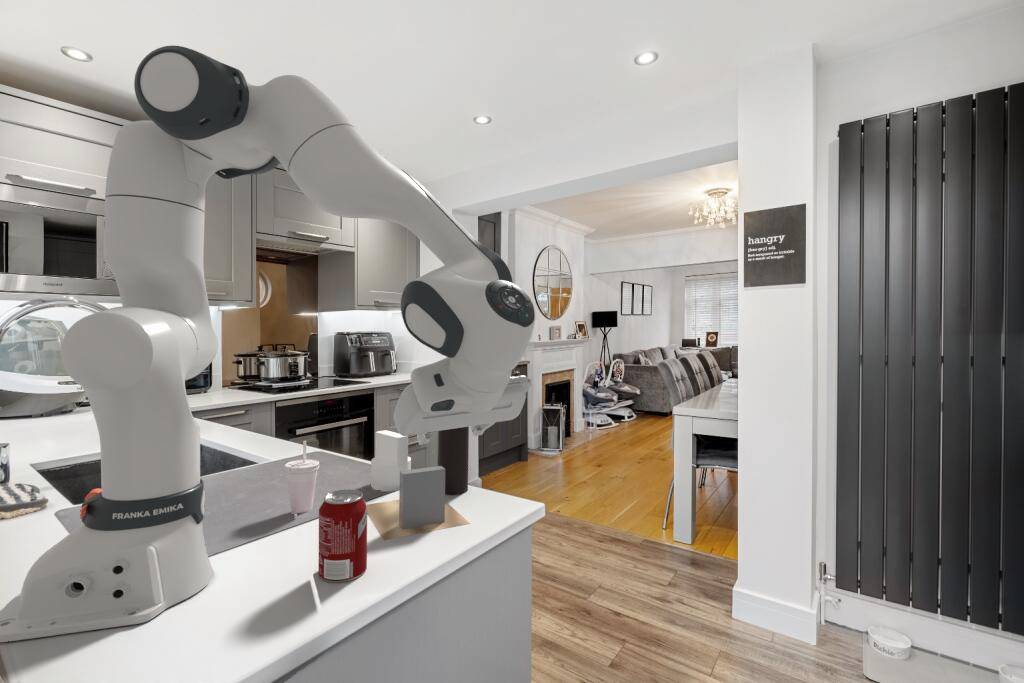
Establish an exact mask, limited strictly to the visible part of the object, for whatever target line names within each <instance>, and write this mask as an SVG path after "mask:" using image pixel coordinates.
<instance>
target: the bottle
mask: <svg viewBox="0 0 1024 683" xmlns="http://www.w3.org/2000/svg"><path fill="white" fill-rule="evenodd" d="M469 431H470V426H468V427H461V428H454V429H448V430H441V431H437V433H438V434H437V466H442V467H443V468H445V496H457V495H458V496H459V495H463V494H465V493H467V492H468V491H469V449H470V448H469V441H470V436H469V435H470V434H469V433H470V432H469Z"/></svg>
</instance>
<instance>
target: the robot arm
mask: <svg viewBox="0 0 1024 683" xmlns="http://www.w3.org/2000/svg"><path fill="white" fill-rule="evenodd" d="M133 84H134V93H135V97H136V99H137V102H138V104H139V105H140V106H139V107H141V109H142V111H144V113H145V114H146V116H147V117H148V118H149V119H150V120H136V121H131V122H127V123H126V124H123V126H121V127H120V129H119V130H118V131H117V133H116V135H115V138H114V140H113V144H112V147H111V148H112V149H111V152H110V156H109V161H108V166H107V174H106V180H105V193H104V194H105V196H104V197H105V198H104V220H103V221H104V224H103V226H104V227H103V250H102V251H103V253H102V254H103V258H104V261H105V263H106V266H107V267H108V269H109V270H110V271H111V273H112V275H113V277H114V279H115V283H116V285H117V289H118V293H119V297H120V301H121V305H122V306H116V307H111V308H107V309H104V310H101V311H97V312H95V313H91V314H89V315H86V316H83V317H82V318H80V319H79V320H77V321H76V322H74V323H73V324H72V325H71V326H70V328H69V329H68V330H67V331H66V332H65V333H64V336H63V338H62V341H61V346H60V360H61V363H62V365H63V368H64V370H65V371H66V373H67V375H68V376H70V378H71V379H72V380H73V381H74V382H76V383H77V384H78V385H79V386H80V387H81V388H82V390H83V391H84V393H85V395H86V397H87V399H88V403H89V405H90V408H91V411H92V413H93V417H94V420H95V423H96V426H97V431H98V432H97V433H98V437H99V443H100V444H99V445H100V471H101V472H100V476H101V477H100V478H101V479H100V480H101V481H100V482H101V484H100V485H101V486H100V487H101V488H100V487H99V488H94V489H92V490H90V491H89V493H88V494H87V495H86V496H85V497H84V502H83V503H82V504H81V509H79V511H80V514H79V518H80V520H81V523H82V524H81V525H80V526H78V527H77V528H76V529H74V530H73V531H72V532H70V533H69V534H68V535H66V536H65V537H64V538H62V539H61V540H60V541H58V542H57V543H56V544H54V545H53V546H52V547H50V548H49V549H47V550H46V551H45V552H44V553H43V554H41V555H40V556H39V558H38V559H36V561H34V563H33V564H32V566H31V567H30V568H29V570H28V572H27V574H26V576H25V579H24V581H23V584H22V587H21V592H20V593H19V594H17V595H15V597H14V598H12V599H11V600H10V601H9V602H8V603H7V604H6V605H5V606H4V607H3V608H2V609H1V611H0V643H8V641H9V642H14V641H21V640H30V639H36V638H37V639H38V638H42V637H43V638H45V637H52V636H58V635H67V634H73V633H80V632H81V633H82V632H87V631H94V630H95V631H96V630H102V629H109V628H117V627H123V626H131V625H138V624H142V623H146V622H148V621H150V620H152V619H153V618H155V617H156V616H158V615H159V614H162V613H163V612H164V611H165V610H166V609H168V608H170V607H172V606H174V605H176V604H178V603H180V602H183V601H184V600H186V599H189V598H190V597H192V596H194V595H195V594H197V593H198V592H200V591H201V590H203V589H205V587H207V585H208V584H209V583H210V582H211V581H212V579H213V577H214V574H215V573H214V570H213V566H212V564H211V561H210V559H209V554H208V551H207V547H206V545H207V544H206V542H205V541H206V540H205V537H204V536H205V535H204V528H203V520H204V517H205V514H206V513H205V509H206V498H205V497H206V495H205V494H206V493H205V488H204V480H203V479H202V478H201V429H200V428H201V427H200V425H199V423H198V422H197V421H196V420H195V418H194V416H193V413H192V410H191V406H190V402H189V399H188V393H187V390H186V381H188V380H190V379H193V378H195V377H197V376H198V375H199V374H201V373H202V372H203V371H204V370H206V369H207V368H208V367H209V365H210V364H211V363H212V362H213V361H214V360H215V358H216V355H217V353H218V349H219V344H218V343H219V342H218V341H219V340H218V336H217V334H216V331H215V330H214V328H213V324H212V318H211V310H210V302H209V297H208V293H207V292H208V291H207V286H206V279H205V268H204V255H205V252H204V250H205V249H204V248H205V247H204V246H205V223H206V222H205V220H206V218H205V217H206V216H205V215H206V214H205V213H206V190H207V188H206V187H207V184H208V181H209V179H210V178H211V177H212V176H213V175H214V174H215V175H217V176H218V177H220V178H222V179H224V180H230V179H235V178H239V177H244V176H253V175H261V174H262V175H263V174H265V173H268V172H270V171H272V170H274V169H275V168H276V167H278V166H279V165H280V164H281V165H282V167H283V169H284V170H285V171H286V173H287V174H288V175H289V177H290V178H291V179H292V180H293V182H294V183H295V184H296V185H297V187H298V188H299V189H300V191H301V192H302V193H303V194H304V195H305V197H307V199H308V200H310V201H311V203H313V204H314V205H316V206H317V207H318V208H319V209H321V210H322V211H323V212H326V213H328V214H330V215H334V216H336V217H342V218H347V219H348V218H349V219H371V220H381V221H388V222H391V223H395V224H397V225H399V226H402V227H405V228H406V229H407V230H409V231H410V232H412V233H413V235H415V236H416V237H417V238H418V240H420V241H421V242H422V243H423V244H424V246H426V248H428V249H429V250H430V251H431V252H432V254H433V255H435V257H436V258H438V260H439V261H440V262H442V264H443V266H441V267H439V268H436V269H432V270H431V271H429V272H427V273H425V274H423V275H421V276H419V277H417V278H415V279H414V280H412V281H410V282H408V283H407V284H406V285H405V286H404V288H403V291H402V294H401V298H400V313H401V314H400V315H401V317H402V321H403V323H404V326H405V328H406V330H407V332H408V333H409V334H410V335H411V336H412V337H413V338H414V339H416V340H417V341H418V342H419V343H421V344H422V345H424V346H426V347H428V348H429V349H430V350H432V351H435V352H436V353H438V354H440V355H442V356H445V358H443V359H440V360H438V361H435V362H433V363H430V364H426V365H423V366H419V367H417V368H414V369H412V371H411V373H410V380H411V383H410V384H408V385H407V386H406V387H404V389H403V390H402V392H401V394H400V395H399V398H398V400H397V403H396V405H395V408H394V411H393V421H394V425H395V428H396V430H397V433H399V434H401V435H402V436H408V437H409V436H412V435H413V436H414V435H416V440H417V442H418V445H419V446H421V445H428V444H429V443H430V441H431V438H432V437H431V435H430V434H429V433H432V432H433V433H434V432H438V431H441V430H448V429H454V428H461V427H468V426H469V427H470V431H471V432H472V436H473V437H475V436H476V437H477V436H482V435H483V434H484V433H485V431H486V430H487V429H488V428H490V427H492V426H493V425H495V423H499V422H506V421H513V420H515V419H516V418H517V417H518V416H520V414H521V412H522V410H523V407H524V405H525V402H526V398H527V392H528V391H529V389H530V387H531V386H532V380H531V379H530V378H529V377H527V375H522V374H521V375H517V376H512V371H513V370H514V369H515V368H516V367H517V366H518V364H519V363H520V361H521V360H522V358H523V356H524V354H525V351H526V350H527V346H528V345H529V342H530V339H531V338H532V334H533V331H534V328H535V322H536V310H535V306H534V303H533V301H532V299H531V298H530V296H529V295H528V294H527V293H526V291H524V289H522V288H521V287H520V286H518V285H516V284H515V283H513V282H514V281H513V277H512V274H511V271H510V269H509V266H508V264H506V262H505V261H504V260H503V259H502V257H501V256H499V254H497V253H496V252H495V251H493V250H492V249H490V248H489V247H487V246H485V245H484V244H482V243H481V242H480V241H478V240H477V239H476V238H475V237H474V236H472V234H470V232H469V231H467V229H466V228H465V227H464V226H463V225H462V224H461V223H460V222H459V221H458V220H457V219H456V218H455V217H454V216H453V215H452V214H451V213H450V212H449V210H447V209H446V208H445V207H444V206H443V205H442V203H441V202H439V200H438V199H437V198H436V197H435V196H434V195H433V194H432V193H431V192H430V191H429V190H428V189H427V188H426V187H425V186H424V185H423V184H422V183H420V182H419V180H417V179H416V178H415V177H413V176H412V175H411V174H409V173H408V172H406V171H405V170H403V169H401V168H399V166H397V165H395V164H393V163H392V162H391V161H390V160H388V158H386V157H384V156H383V155H382V154H381V153H380V152H379V151H378V150H377V149H375V147H373V145H371V144H370V143H369V142H368V140H367V139H366V138H365V137H364V136H363V135H362V134H361V133H360V132H359V130H358V128H356V126H355V125H354V124H353V123H352V122H351V120H350V119H349V118H348V117H347V116H346V114H344V112H342V110H341V109H340V108H339V107H338V106H337V105H336V104H335V103H334V102H333V101H332V100H331V99H330V98H329V97H328V96H327V95H326V94H325V93H323V91H322V90H320V89H319V88H318V87H317V86H316V85H314V83H313V82H311V81H310V80H308V79H307V78H304V77H303V76H299V75H294V74H283V75H280V76H277V77H274V78H272V79H271V80H269V81H267V82H266V83H265V84H263V85H253V84H251V83H249V82H247V79H246V76H245V75H244V73H243V72H242V71H241V70H240V69H238V68H236V67H233V66H231V65H228V64H226V63H223V62H222V61H218V60H216V59H214V58H212V57H210V56H208V55H206V54H204V53H202V52H200V51H197V50H195V49H192V48H188V47H186V46H180V45H165V46H161V47H157V48H156V49H154V50H152V51H151V52H149V53H148V54H147V55H145V57H144V58H142V60H141V61H140V63H139V64H138V67H137V69H136V71H135V75H134V83H133Z"/></svg>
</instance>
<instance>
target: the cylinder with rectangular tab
mask: <svg viewBox="0 0 1024 683" xmlns="http://www.w3.org/2000/svg"><path fill="white" fill-rule="evenodd" d="M374 439H375V440H374V441H375V448H374V451H375V452H374V456H375V457H373V458H372V459H371V460H370V463H371V464H370V487H372V488H373V489H372V488H371V489H372V490H374V489H376V490H375V491H377V490H381V491H380V492H394V491H393V490H396V491H400V471H404V470H412V468H411V467H412V457H410V456H409V435H408V436H402V435H401V434H400V433H399V432H395V431H391V430H385V429H384V430H379V431H375V438H374ZM391 490H392V491H391Z"/></svg>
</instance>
